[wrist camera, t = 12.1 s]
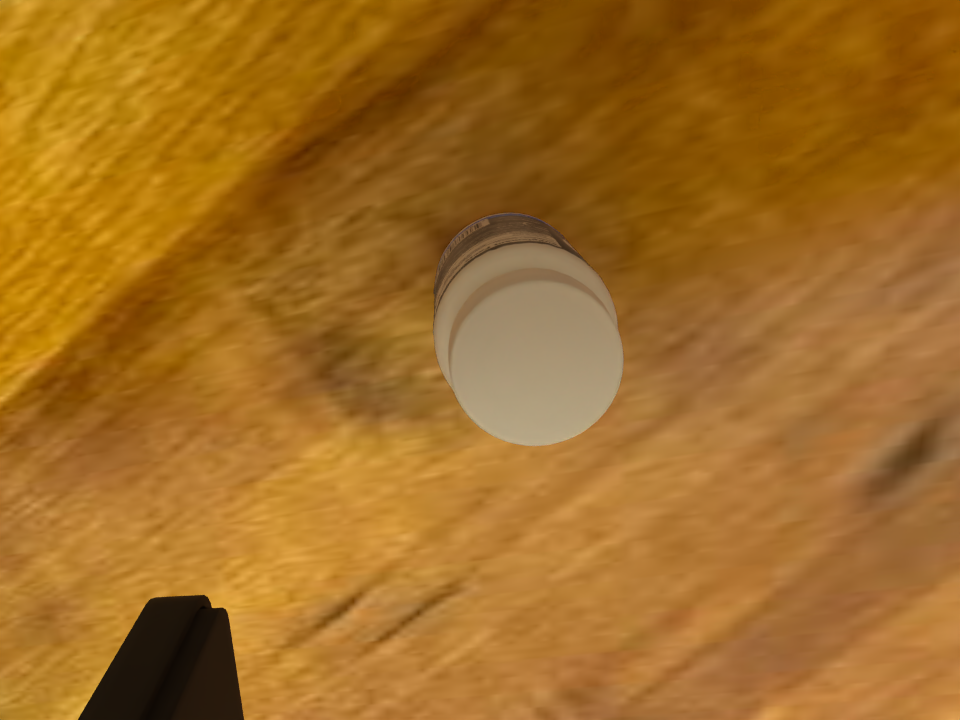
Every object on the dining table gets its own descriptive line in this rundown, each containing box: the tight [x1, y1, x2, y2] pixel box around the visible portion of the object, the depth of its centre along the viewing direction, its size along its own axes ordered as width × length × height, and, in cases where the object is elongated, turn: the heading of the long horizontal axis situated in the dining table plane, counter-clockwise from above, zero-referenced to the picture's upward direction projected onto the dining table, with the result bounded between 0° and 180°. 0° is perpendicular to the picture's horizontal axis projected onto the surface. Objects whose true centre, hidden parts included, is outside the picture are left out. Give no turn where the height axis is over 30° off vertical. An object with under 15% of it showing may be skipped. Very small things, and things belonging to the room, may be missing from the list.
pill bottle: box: [433, 213, 624, 446], centre depth 22 cm, size 5×5×8 cm
